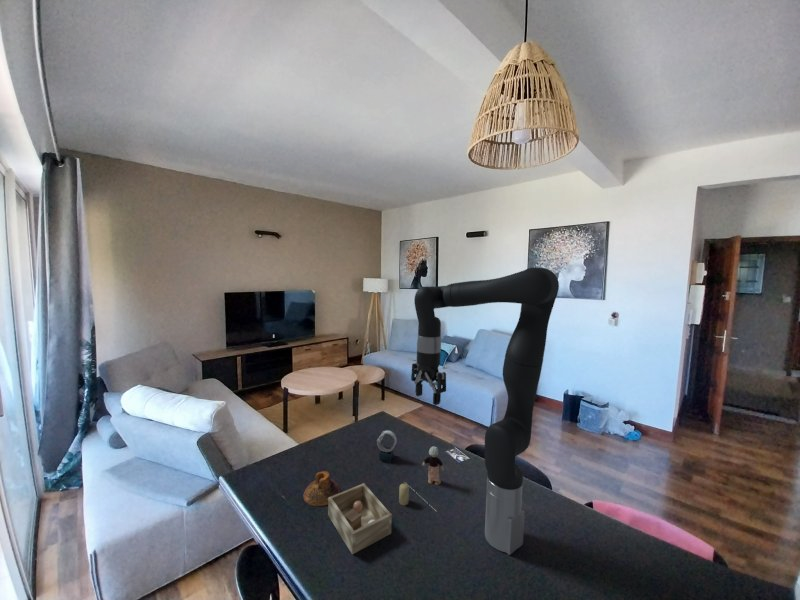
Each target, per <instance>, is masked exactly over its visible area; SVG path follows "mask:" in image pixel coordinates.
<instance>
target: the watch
mask: <svg viewBox="0 0 800 600" xmlns="http://www.w3.org/2000/svg"><path fill="white" fill-rule="evenodd" d="M386 435H389V436H391V437H392V438H393V440H394V442H393V444H392V446H391V447H389V446H383V445H382V444H381V442H382V440H383V439H384V438H385V436H386ZM376 442H377V443H376V445H377V447H378V449H379V450H380V451H379V453H378V454H379V455H378V456H379V457H378V460H379V461H381V462H383V463H385V464H390V463H391V462H392V459H394V455H395V447H396V445H397V443H398V438H397V435H396V434H395V432H394V431H391V430H388V429H386V430H383V431H382V432H381V433H380V434H379V437H378V438H377V440H376Z"/></svg>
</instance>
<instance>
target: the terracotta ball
mask: <svg viewBox="0 0 800 600" xmlns="http://www.w3.org/2000/svg"><path fill="white" fill-rule="evenodd" d="M362 507H363V505H362V503H361V501H355V502H354V504H353V509H354V510H355V511H357V512H360V511H361V510H362Z"/></svg>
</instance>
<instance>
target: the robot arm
mask: <svg viewBox="0 0 800 600" xmlns="http://www.w3.org/2000/svg"><path fill="white" fill-rule="evenodd" d="M559 288H560V283H559V280H558V277H557V275H556V274H555V273H554V272H553V271H552V270H550V269H549V268H544V267H529V268H526V269H523V270H521V271H518V272H515V273H513V274H508V275H505V276H501V277H497V278H491V279H490V278H489V279H481V280H468V281H467V280H466V281H462V282H454V283H449V284H446V285H440V286H421V287H419V288H418V289H417V290H416V292H415V295H414V309H415V313H416V318H417V321H418V322H417V323H418V329H417V330H418V332H417V342H416V362H414V363H412V364H411V375H410V378H411V381H412V382H413V383H414V385H415V396H416V397H421V396H422V395H423V382H426V383H428V384H429V386H430V387H431V388H432V391H433V393H432V394H433V395H432V404H433V405H434V406H437V405H440V403H441V398H442V397H441V394H442V393H446V392H447V373H446V372H445V371H443V372H440V371H439V370H440V369H439V367H440V366H441V357H442V356H441V355H442V351H441V350H442V339H441V331H442V330H441V327H442V325H441V323H442V322H441V319H440V318H439V317H436V315H435V309H442V308H443V309H444V308H450V307H452V308H458V307H471V306H479V305H485V304H492V303H493V304H494V303H508V304H509V303H511V304H521V305H520V313H519V318H518V321H517V324H516V326H515V328H514V331H513V332H512V334H511V337H510V339H509V342H508V345H507V347H506V350H505V355H504V360H503V365H502V380H503V383H504V387H505V389H506V392H507V405H506V410H505V414H504V417H503V418H502V419H501V420H498V421H497V422H494V423H492V424H490V425H489V426H488V427H487V428H486V431H485V433H484V465H485V468H486V474H487V475H486V494H485V495H486V497H485V498H486V499H485V515H484V516H485V518H484V519H485V520H484V523H485V524H484V538H485V540H486V541H487V543H488V544H489V545H490V546H491V547H492V548H494V549H495V550H497V551H499V552H503V553H506V554H507V555H508V556H510V555H512V554H513V553H514V552H515V551H516V550H518V549H520V547H522V546H523V544H524V531H525V529H524V527H525V511H524V510H523V509H522V504H523V503H522V501H523V500H522V499H523V485H524V484H523V483H524V482H523V481H524V480H523V479H524V476H523V472H522V471H523V470H521V468H520V467H519V466H517V464H516V457H517V456H519V455H520V454H522V453H524V452H525V451H526V450H527V449H528V448H529V446H530V444H531V439H532V429H533V428H532V425H533V413H534V408H535V407H534V405H535V402H536V397H537V392H538V386H539V383H540V378H541V373H542V368H543V362H544V356H545V355H544V354H545V351H546V345H547V344H546V342H547V336H548V326H549V321H550V318H551V315H552V312H553V308H554V305H555V302H556V299H557V296H558V293H559V290H560V289H559Z"/></svg>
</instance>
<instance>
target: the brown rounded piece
mask: <svg viewBox="0 0 800 600" xmlns="http://www.w3.org/2000/svg"><path fill="white" fill-rule="evenodd" d="M314 478H315V479H314V480H313V481H312V482H310V483H309V484H308V485H307V487H306V488H305V490H304V492H303V495H302V498H303V500H304V503H306V504H307V505H309V506H311V507H324V506H328V498H329V497H331V496H334V495H336V494H338V493H341V492H342V490H341V487H340V485H339V484H338V482H336V481H335V480H334V479H332V478H331V477H330V473H329V472H328V471H319V472H317V473H316V474H315V476H314Z"/></svg>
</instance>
